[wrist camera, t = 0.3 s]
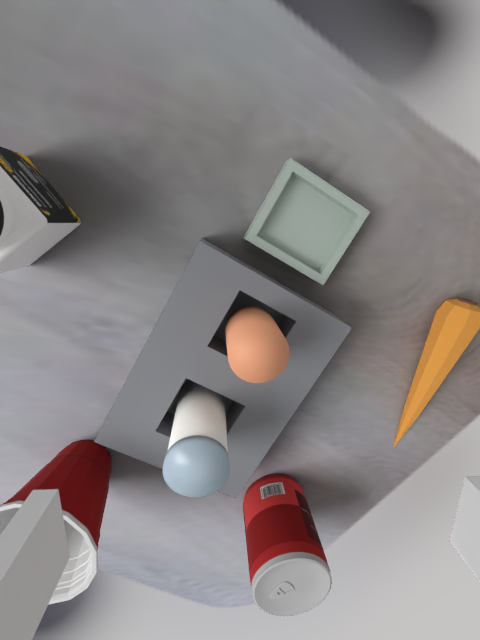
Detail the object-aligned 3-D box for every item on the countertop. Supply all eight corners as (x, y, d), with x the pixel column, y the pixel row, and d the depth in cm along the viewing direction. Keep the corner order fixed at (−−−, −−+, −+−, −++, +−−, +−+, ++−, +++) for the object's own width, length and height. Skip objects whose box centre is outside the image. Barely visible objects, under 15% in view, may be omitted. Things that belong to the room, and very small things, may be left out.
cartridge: (169, 406, 36) (151, 483, 25) (191, 368, 35) (181, 431, 24) (211, 425, 37) (210, 506, 26) (233, 388, 36) (242, 457, 25)
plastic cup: (43, 409, 36) (-37, 497, 24) (141, 431, 38) (109, 522, 26) (29, 487, 39) (-49, 599, 27) (121, 504, 40) (84, 616, 29)
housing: (109, 413, 37) (93, 441, 32) (201, 238, 32) (199, 240, 27) (233, 465, 40) (235, 498, 35) (333, 313, 35) (352, 327, 30)
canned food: (230, 504, 42) (235, 600, 31) (269, 461, 40) (288, 545, 30) (276, 529, 43) (295, 628, 33) (315, 489, 42) (348, 578, 31)
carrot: (439, 290, 36) (450, 298, 32) (483, 301, 35) (500, 312, 31) (373, 430, 44) (376, 452, 39) (409, 443, 43) (414, 467, 38)
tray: (242, 238, 32) (244, 239, 30) (285, 161, 31) (290, 157, 29) (317, 282, 34) (323, 285, 32) (361, 212, 32) (370, 211, 30)
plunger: (216, 340, 31) (216, 366, 25) (241, 296, 30) (247, 314, 24) (259, 362, 32) (269, 392, 26) (285, 320, 31) (301, 342, 25)
